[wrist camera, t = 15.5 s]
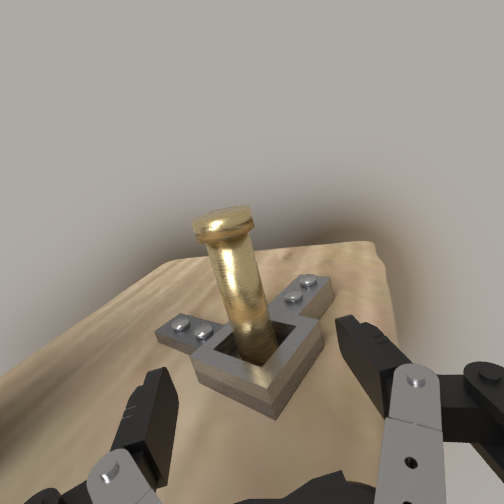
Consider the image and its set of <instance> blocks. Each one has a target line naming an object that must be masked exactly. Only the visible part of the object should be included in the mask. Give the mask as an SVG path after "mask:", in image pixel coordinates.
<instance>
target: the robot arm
mask: <svg viewBox="0 0 504 504" xmlns="http://www.w3.org/2000/svg"><path fill="white" fill-rule="evenodd" d="M335 325H336V331H337V337H338V343H339V348H340V351H341V354H342V356H343V358H344V360H345V362H346V363H347V365H348V366H349V368H350V369H351V371H352V372H353V374H354V375H355V377H356V378H357V380H358V381H359V383H360V384H361V386H362V387H363V389H364V390H365V392H366V393H367V395H368V396H369V398H370V399H371V401H372V402H373V404H374V405H375V407H376V408H377V410H378V411H379V413H380V414H381V416H382V417H383V419H384V420H385V424H384V432H383V439H382V447H381V455H380V462H379V470H378V478H377V485H376V488H375V487H372V486H370V485H367V484H363V483H359V482H352V481H346V480H345V477H344V475H343V473H342V470H340V471H337V472H334V473H331V474H327V475H324V476H321V477H318V478H315V479H312V480H310V481H309V482H307V483H306V484H304V485H303V486H301V487H300V488H298V489H297V490H295V491H294V492H292V493H291V494H289V495H288V496H286V497H284V498H282V499H247V500H244V501H241V502H238V503H234V504H446V490H445V471H444V452H443V442H463V443H464V442H465V443H470V444H471V445H472V446H473V447H474V448H475V449H476V451H477V452H478V453H479V454H480V455H481V457H482V458H483V459H484V460H485V461H486V463H487V464H488V465H489V466H490V467H491V468H492V470H493V471H494V472H495V473H496V474H497V476H498V477H499V478H500V479H501V480H502V482H503V483H504V368H503V367H501V366H499V365H496V364H493V363H489V362H472V363H470V364H468V365H466V366H465V368H464V375H437V374H435V373H434V372H433V371H432V370H431V369H429V368H427V367H425V366H422V365H419V364H413V363H412V362H411V361H410V360H409V359H408V358H407V357H406V356H405V355H404V354H403V353H402V352H401V351H400V350H399V349H398V348H397V347H396V346H395V345H394V344H393V343H392V342H390V340H389V339H388V338H387V337H386V336H384V334H383V333H382V332H381V331H380V330H379V329H378V328H377V327H376V326H374V325H372V324H369V323H367V322H364V323H361V324H360V323H359V322H358V321H357V320H356V319H355V317H354V316H353V315H347V316H344V317H340V318H337V319H335ZM178 408H179V401H178V395H177V392H176V389H175V387H174V384H173V382H172V380H171V377H170V375H169V372H168V370H167V368H166V367H162V368H159V369H155V370H152V371H148V372H147V374H146V377H145V380H144V384H143V385H142V386H138V387H137V388H136V389H135V391H134V392H133V393H132V395H131V396H130V398H129V400H128V403H127V406H126V410H125V411H124V414H123V419H121V422H120V425H119V428H118V430H117V433H116V436H115V439H114V441H113V444H112V447H111V450H110V452H109V453H107V454H106V455H105V456H103V457H102V458H101V459H100V460H99V461H98V462H97V463H96V464H95V465H94V467H93V468H92V470H91V471H90V473H89V475H88V478H87V480H86V481H84V482H83V483H81V484H79V485H78V486H76V487H74V488H73V489H71V490H69V491H68V492H66V493H64V494H63V495H61V494H60V493H59V492H58V490H57V489H55V488H48V489H44V490H42V491H40V492H38V493H37V494H35V495H34V496H32V497H31V498H30V499H28V500H27V501H26V502H25V503H24V504H162V503H161V501H160V500H159V498H158V497H157V495H156V489H158V488H161V487H164V486H167V483H168V476H169V469H170V463H171V456H172V449H173V442H174V436H175V429H176V422H177V415H178Z"/></svg>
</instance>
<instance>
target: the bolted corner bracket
mask: <svg viewBox="0 0 504 504" xmlns="http://www.w3.org/2000/svg"><path fill="white" fill-rule="evenodd" d="M333 301H334V295H333V289H332V282H331V277H322V276H315V275H313V274H306V275H299V276H298V277H297V278H296V279H295V280H294V281H293V282H292V283H291V284H290V285H289V286H288V287H287V288H285V289H284V290H283V291H282V292H281V293H280V294H279V295H278V296H277V297H276V298H275V299H274V300H273V301H272V302H271V303H270V304H269V305H268V309H269V313H270V317H271V321H272V325H273V329H274V332H275V336H276V340H277V344H278V346H280V347H279V348H278V349H277V350H276V351H275V353H274V354H273V355H272V356H271V357H270V359H269V360H268V361H267V362H266V363H265V365H264V366H263V367H259V366H256V365H254V364H251V363H248V362H245V361H243V360H240V359H238V358H239V357H240V353H239V350H238V346H237V343H236V340H235V337H234V334H233V330H232V327H231V324H230V321H229V322H228V323H227V324H226V325H221V324H218V323H214V322H210V321H207V320H203V319H199V318H196V317H192V316H188V315H185V314H181V313H180V314H179V315H177V316H176V317H174V318H173V319H172V320H170V321H169V322H167V323H166V324H165V325H163V326H162V327H160V328H159V329H157V330H156V331H155V335H156V337H157V340H158V342H159V343H162V344H164V345H167V346H169V347H172V348H174V349H176V350H179V351H181V352H184V353H186V354H189V355H190V359H191V362H192V364H193V367H194V370H195V372H196V375H197V378H198V380H199V383H201V384H203V385H205V386H207V387H209V388H211V389H214V390H216V391H218V392H220V393H222V394H224V395H226V396H228V397H230V398H232V399H234V400H236V401H238V402H240V403H242V404H244V405H246V406H248V407H250V408H252V409H254V410H256V411H258V412H260V413H262V414H264V415H266V416H268V417H270V418H272V419H274V420H276V419H277V417H278V416H279V414H280V413H281V411H282V410H283V408H284V407H285V405H286V404H287V402H288V401H289V399H290V398H291V396H292V395H293V393H294V392H295V390H296V389H297V387H298V385H299V384H300V382H301V381H302V379H303V378H304V376H305V375H306V373H307V372H308V370H309V369H310V367H311V366H312V364H313V363H314V361H315V360H316V358H317V357H318V355H319V354H320V352H321V351H322V349H323V348H324V343H323V338H322V332H321V327H320V321H319V319H320V318H321V317H322V315H323V314H324V313H325V311H326V310H327V309H328V307H329V306H330V305H331V303H332V302H333Z"/></svg>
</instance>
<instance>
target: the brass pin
mask: <svg viewBox="0 0 504 504" xmlns="http://www.w3.org/2000/svg"><path fill="white" fill-rule="evenodd" d="M191 224H192V227H193V231H194V234H195V237H196V240H197V242H198V243H202V244H206V247H207V251H208V254H209V257H210V260H211V263H212V267H213V270H214V273H215V276H216V279H217V283H218V286H219V289H220V292H221V295H222V298H223V302H224V305H225V308H226V311H227V314H228V318H229V321H230V324H231V327H232V330H233V334H234V337H235V340H236V343H237V346H238V350H239V353H240V356H241V359H242V360H243V361H245V362H248V363H251V364H254V365H256V366H259V367H263V366H264V365H265V363H266V362H267V361H268V360H269V359H270V357H271V356H272V355H273V354H274V353H275V351H276V350H277V349H278V344H277V340H276V336H275V332H274V329H273V325H272V321H271V317H270V313H269V309H268V305H267V301H266V297H265V294H264V290H263V286H262V282H261V278H260V274H259V270H258V266H257V262H256V259H255V255H254V251H253V247H252V243H251V239H250V235H249V231H250V230H252V229H253V228H254V222H253V219H252V214H251V210H250V206H248V205H241V206H233V207H228V208H224V209H220V210H216V211H213V212H210V213H207V214H204V215H202V216H199V217H197V218H196V219H194V220H192V222H191Z"/></svg>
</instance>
